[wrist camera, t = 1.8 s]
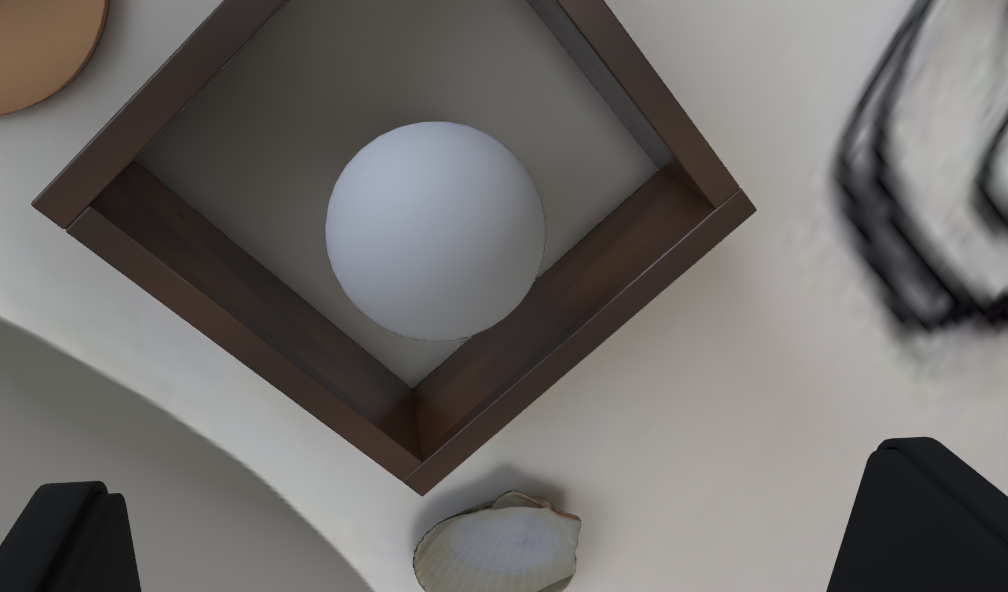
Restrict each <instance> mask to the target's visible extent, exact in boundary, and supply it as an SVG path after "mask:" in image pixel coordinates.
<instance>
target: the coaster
mask: <svg viewBox="0 0 1008 592" xmlns="http://www.w3.org/2000/svg"><path fill="white" fill-rule="evenodd" d="M108 5H109V0H0V115H5V114H9V113H12V112H15V111H19V110H22V109H25V108H28V107H30V106H32V105H35V104H37V103H39V102H41V101H43V100H45V99H47V98H49V97H50V96H52V95H53V94H55V93H56V92H58V91H60V90H61V89H63V88H64V87H65V86H66V85H67V84H68V83H69V82H70V81H71V80H72V79H74V78H75V77H76V76H77V75H78V73H79V72H80V71H81V70H82V68H83V67H84V66H85V64H86V63H87V62H88V61H89V59H90V57H91V55H92V53H93V52H94V50H95V48H96V46H97V44H98V42H99V39H100V36H101V34H102V31H103V28H104V25H105V20H106V15H107V11H108Z"/></svg>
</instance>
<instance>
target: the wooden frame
mask: <svg viewBox="0 0 1008 592" xmlns="http://www.w3.org/2000/svg"><path fill="white" fill-rule="evenodd" d="M288 1H289V0H223V1H222V3H221V4H220V5H219V6H218V7H217V8H216V9H215V10H214V11H213V12H212V13H211V14H210V15H209V16H208V17H207V18H206V19H205V20H204V21H203V23H202V24H201V25H200V26H199V27H198V28H197V29H196V30H195V31H194V32H193V33H192V34H191V35H190V36H189V37H188V38H187V39H186V40H185V41H184V43H183V44H182V45H181V46H180V47H179V48H178V49H177V50H176V51H175V52H174V53H173V54H172V55H171V56H170V57H169V58H168V59H167V60H166V61H165V63H164V64H163V65H162V66H161V67H160V68H159V69H158V70H157V71H156V72H155V73H154V74H153V75H152V76H151V77H150V78H149V79H148V80H147V81H146V83H145V84H144V85H143V86H142V87H141V88H140V89H139V90H138V91H137V92H136V93H135V94H134V95H133V96H132V97H131V98H130V99H129V100H128V101H127V103H126V104H125V105H124V106H123V107H122V108H121V109H120V110H119V111H118V112H117V113H116V114H115V115H114V116H113V117H112V118H111V119H110V120H109V121H108V123H107V124H106V125H105V126H104V127H103V128H102V129H101V130H100V131H99V132H98V133H97V134H96V135H95V136H94V137H93V138H92V139H91V140H90V141H89V143H88V144H87V145H86V146H85V147H84V148H83V149H82V150H81V151H80V152H79V153H78V154H77V155H76V156H75V157H74V158H73V159H72V160H71V161H70V163H69V164H68V165H67V166H66V167H65V168H64V169H63V170H62V171H61V172H60V173H59V174H58V175H57V176H56V177H55V178H54V179H53V180H52V181H51V183H50V184H49V185H48V186H47V187H46V188H45V189H44V190H43V191H42V192H41V193H40V194H39V195H38V196H37V197H36V198H35V199H34V200H33V201H32V203H31V205H32V206H33V207H34V208H35V209H37V210H38V211H39V212H41V213H42V214H43V215H45V216H46V217H48V218H49V219H50V220H52V221H53V222H54V223H56V224H57V225H58V226H60V227H61V228H62V229H66V232H67V233H68V234H70V235H71V236H72V237H74V238H75V239H76V240H78V241H79V242H80V243H82V244H83V245H85V246H86V247H87V248H89V249H90V250H91V251H93V252H94V253H95V254H97V255H98V256H99V257H101V258H102V259H103V260H105V261H106V262H107V263H109V264H110V265H111V266H113V267H114V268H115V269H117V270H118V271H119V272H121V273H122V274H124V275H125V276H126V277H128V278H129V279H130V280H132V281H133V282H134V283H136V284H137V285H138V286H140V287H141V288H142V289H144V290H145V291H146V292H148V293H149V294H150V295H152V296H153V297H154V298H156V299H157V300H159V301H160V302H161V303H163V304H164V305H165V306H167V307H168V308H169V309H171V310H172V311H173V312H175V313H176V314H177V315H179V316H180V317H181V318H183V319H184V320H185V321H187V322H188V323H189V324H191V325H192V326H193V327H195V328H196V329H198V330H199V331H200V332H202V333H203V334H204V335H206V336H207V337H208V338H210V339H211V340H212V341H214V342H215V343H216V344H218V345H219V346H220V347H222V348H223V349H224V350H226V351H227V352H228V353H230V354H231V355H233V356H234V357H235V358H237V359H238V360H239V361H241V362H242V363H243V364H245V365H246V366H247V367H249V368H250V369H251V370H253V371H254V372H255V373H257V374H258V375H259V376H261V377H262V378H263V379H265V380H266V381H267V382H269V383H270V384H272V385H273V386H274V387H276V388H277V389H278V390H280V391H281V392H282V393H284V394H285V395H286V396H288V397H289V398H290V399H292V400H293V401H294V402H296V403H297V404H298V405H300V406H301V407H302V408H304V409H305V410H306V411H308V412H309V413H311V414H312V415H313V416H315V417H316V418H317V419H319V420H320V421H321V422H323V423H324V424H325V425H327V426H328V427H329V428H331V429H332V430H333V431H335V432H336V433H337V434H339V435H340V436H341V437H343V438H344V439H346V440H347V441H348V442H350V443H351V444H352V445H354V446H355V447H356V448H358V449H359V450H360V451H362V452H363V453H364V454H366V455H367V456H368V457H370V458H371V459H372V460H374V461H375V462H376V463H378V464H379V465H380V466H382V467H383V468H385V469H386V470H387V471H389V472H390V473H391V474H393V475H394V476H395V477H397V478H398V479H399V480H401V481H402V482H403V483H405V484H406V485H407V486H409V487H410V488H411V489H413V490H414V491H415V492H417V493H418V494H419V495H421V496H424V495H425V494H426V493H427V492H428V491H430V490H431V489H432V488H433V487H434V486H436V485H437V484H438V483H439V482H440V481H441V480H443V479H444V478H445V477H446V476H447V475H448V474H450V473H451V472H452V471H453V470H454V469H455V468H457V467H458V466H459V465H460V464H461V463H462V462H464V461H465V460H466V459H467V458H468V457H469V456H471V455H472V454H473V453H474V452H475V451H476V450H478V449H479V448H480V447H481V446H482V445H483V444H485V443H486V442H487V441H488V440H489V439H490V438H492V437H493V436H494V435H495V434H496V433H497V432H499V431H500V430H501V429H502V428H503V427H504V426H506V425H507V424H508V423H509V422H510V421H511V420H513V419H514V418H515V417H516V416H517V415H518V414H520V413H521V412H522V411H523V410H524V409H525V408H527V407H528V406H529V405H530V404H531V403H532V402H534V401H535V400H536V399H537V398H538V397H539V396H541V395H542V394H543V393H544V392H545V391H546V390H548V389H549V388H550V387H551V386H552V385H553V384H555V383H556V382H557V381H558V380H559V379H560V378H562V377H563V376H564V375H565V374H566V373H567V372H569V371H570V370H571V369H572V368H573V367H575V366H576V365H577V364H578V363H579V362H580V361H582V360H583V359H584V358H585V357H586V356H587V355H589V354H590V353H591V352H592V351H593V350H594V349H596V348H597V347H598V346H599V345H600V344H601V343H603V342H604V341H605V340H606V339H607V338H608V337H610V336H611V335H612V334H613V333H614V332H615V331H617V330H618V329H619V328H620V327H621V326H622V325H624V324H625V323H626V322H627V321H628V320H629V319H631V318H632V317H633V316H634V315H635V314H636V313H638V312H639V311H640V310H641V309H642V308H643V307H645V306H646V305H647V304H648V303H649V302H650V301H652V300H653V299H654V298H655V297H656V296H657V295H659V294H660V293H661V292H662V291H663V290H664V289H666V288H667V287H668V286H669V285H670V284H671V283H673V282H674V281H675V280H676V279H677V278H678V277H680V276H681V275H682V274H683V273H684V272H685V271H687V270H688V269H689V268H690V267H691V266H692V265H694V264H695V263H696V262H697V261H698V260H699V259H701V258H702V257H703V256H704V255H705V254H706V253H708V252H709V251H710V250H711V249H712V248H714V247H715V246H716V245H717V244H718V243H719V242H721V241H722V240H723V239H724V238H725V237H726V236H728V235H729V234H730V233H731V232H732V231H733V230H735V229H736V228H737V227H738V226H739V225H740V224H742V223H743V222H744V221H745V220H746V219H747V218H749V217H750V216H751V215H752V214H753V213H754V212H756V208H755V206H754V205H753V204H752V202H751V201H750V200H749V198H748V197H747V195H746V194H745V193H744V191H743V190H742V189H741V188H739V185H738V184H737V182H736V181H735V179H734V178H733V177H732V175H731V174H730V173H729V171H728V170H727V168H726V167H725V166H724V164H723V163H722V162H721V160H720V159H719V157H718V156H717V155H716V153H715V152H714V151H713V149H712V148H711V147H710V145H709V144H708V142H707V141H706V140H705V138H704V137H703V136H702V134H701V133H700V131H699V130H698V129H697V127H696V126H695V125H694V123H693V122H692V120H691V119H690V118H689V116H688V115H687V114H686V112H685V111H684V109H683V108H682V107H681V105H680V104H679V103H678V101H677V100H676V99H675V97H674V96H673V94H672V93H671V92H670V90H669V89H668V88H667V86H666V85H665V83H664V82H663V81H662V79H661V78H660V77H659V75H658V74H657V72H656V71H655V70H654V68H653V67H652V66H651V64H650V63H649V61H648V60H647V59H646V57H645V56H644V55H643V53H642V52H641V51H640V49H639V48H638V46H637V45H636V44H635V42H634V41H633V40H632V38H631V37H630V35H629V34H628V33H627V31H626V30H625V29H624V27H623V26H622V24H621V23H620V22H619V20H618V19H617V18H616V16H615V15H614V13H613V12H612V11H611V9H610V8H609V7H608V5H607V4H606V3H605V1H604V0H527V2H528V3H529V4H530V5H531V7H532V8H533V9H534V10H535V12H536V13H537V14H538V16H539V17H540V18H541V19H542V21H543V22H544V23H545V24H546V26H547V27H548V28H549V30H550V31H551V32H552V33H553V35H554V36H555V37H556V38H557V40H558V41H559V42H560V44H561V45H562V46H563V47H564V49H565V50H566V51H567V52H568V54H569V55H570V56H571V58H572V59H573V60H574V61H575V63H576V64H577V65H578V66H579V68H580V69H581V70H582V72H583V73H584V74H585V75H586V77H587V78H588V79H589V80H590V82H591V83H592V84H593V86H594V87H595V88H596V89H597V91H598V92H599V93H600V94H601V96H602V97H603V98H604V100H605V101H606V102H607V103H608V105H609V106H610V107H611V109H612V110H613V111H614V112H615V114H616V115H617V116H618V117H619V119H620V120H621V121H622V123H623V124H624V125H625V126H626V128H627V129H628V130H629V131H630V133H631V134H632V135H633V137H634V138H635V139H636V140H637V142H638V143H639V144H640V145H641V147H642V148H643V149H644V151H645V152H646V153H647V154H648V156H649V157H650V158H651V159H652V161H653V162H654V163H655V165H656V166H657V167H658V168H659V169H660V171H659V172H658V173H657V174H655V175H654V176H653V177H652V178H651V179H650V180H649V181H647V182H646V183H645V184H644V185H643V186H642V187H641V188H640V189H638V190H637V191H636V192H635V193H634V194H633V195H632V196H631V197H629V198H628V199H627V200H626V201H625V202H624V203H623V204H622V205H620V206H619V207H618V208H617V209H616V210H615V211H614V212H613V213H611V214H610V215H609V216H608V217H607V218H606V219H605V220H604V221H602V222H601V223H600V224H599V225H598V226H597V227H596V228H595V229H593V230H592V231H591V232H590V233H589V234H588V235H587V236H586V237H584V238H583V239H582V240H581V241H580V242H579V243H578V244H577V245H575V246H574V247H573V248H572V249H571V250H570V251H569V252H568V253H566V254H565V255H564V256H563V257H562V258H561V259H560V260H559V261H557V262H556V263H555V264H554V265H553V266H552V267H551V268H550V269H548V270H547V271H546V272H545V273H544V274H543V275H542V276H541V277H539V278H538V279H537V280H536V281H535V282H534V283H533V284H532V286H531V288H530V290H529V291H528V293H527V294H526V295H525V297H524V298H523V300H522V301H521V302H520V304H519V305H518V306H517V307H516V308H515V309H514V310H513V311H512V312H511V313H509V314H508V315H507V316H506V317H505V318H504V319H502V320H501V321H499V322H498V323H496V324H495V325H493V326H492V327H490V328H488V329H486V330H484V331H481V332H479V333H477V334H475V335H474V336H473V337H472V338H471V339H470V340H468V341H467V342H466V343H465V344H464V345H463V346H462V347H461V348H459V349H458V350H457V351H456V352H455V353H454V354H453V355H452V356H450V357H449V358H448V359H447V360H446V361H445V362H444V363H443V364H441V365H440V366H439V367H438V368H437V369H436V370H435V371H434V372H432V373H431V374H430V375H429V376H428V377H427V378H426V379H425V380H423V381H422V382H421V383H420V384H419V385H418V386H417V387H416V388H414V389H413V390H412V389H411V388H409V387H408V386H407V385H406V384H405V383H403V382H402V381H401V380H400V379H399V378H397V377H396V376H395V375H394V374H392V373H391V372H390V371H389V370H388V369H386V368H385V367H384V366H383V365H382V364H380V363H379V362H378V361H377V360H376V359H374V358H373V357H372V356H371V355H369V354H368V353H367V352H366V351H365V350H363V349H362V348H361V347H360V346H359V345H357V344H356V343H355V342H354V341H353V340H351V339H350V338H349V337H348V336H347V335H345V334H344V333H343V332H342V331H340V330H339V329H338V328H337V327H336V326H334V325H333V324H332V323H331V322H330V321H328V320H327V319H326V318H325V317H324V316H322V315H321V314H320V313H319V312H317V311H316V310H315V309H314V308H313V307H311V306H310V305H309V304H308V303H307V302H305V301H304V300H303V299H302V298H301V297H299V296H298V295H297V294H296V293H294V292H293V291H292V290H291V289H290V288H288V287H287V286H286V285H285V284H284V283H282V282H281V281H280V280H279V279H278V278H276V277H275V276H274V275H273V274H271V273H270V272H269V271H268V270H267V269H265V268H264V267H263V266H262V265H261V264H259V263H258V262H257V261H256V260H255V259H253V258H252V257H251V256H250V255H248V254H247V253H246V252H245V251H244V250H242V249H241V248H240V247H239V246H238V245H236V244H235V243H234V242H233V241H232V240H230V239H229V238H228V237H227V236H225V235H224V234H223V233H222V232H221V231H219V230H218V229H217V228H216V227H215V226H213V225H212V224H211V223H210V222H209V221H207V220H206V219H205V218H204V217H202V216H201V215H200V214H199V213H198V212H196V211H195V210H194V209H193V208H192V207H190V206H189V205H188V204H187V203H186V202H184V201H183V200H182V199H181V198H179V197H178V196H177V195H176V194H175V193H173V192H172V191H171V190H170V189H169V188H167V187H166V186H165V185H164V184H163V183H161V182H160V181H159V180H158V179H156V178H155V177H154V176H153V175H152V174H150V173H149V172H148V171H147V170H146V169H144V168H143V167H142V166H141V165H140V164H138V163H137V162H136V161H134V160H135V159H136V158H137V157H138V156H139V155H140V154H141V153H142V152H143V151H144V150H145V149H146V148H147V147H148V146H149V145H150V144H151V143H152V142H153V141H154V140H155V139H156V138H157V137H158V136H159V135H160V133H161V132H162V131H163V130H164V129H165V128H166V127H167V126H168V125H169V124H170V123H171V122H172V121H173V120H174V119H175V118H176V117H177V116H178V115H179V114H180V113H181V112H182V111H183V110H184V109H185V108H186V107H187V106H188V105H189V104H190V103H191V101H192V100H193V99H194V98H195V97H196V96H197V95H198V94H199V93H200V92H201V91H202V90H203V89H204V88H205V87H206V86H207V85H208V84H209V83H210V82H211V81H212V80H213V79H214V78H215V77H216V76H217V75H218V74H219V73H220V72H221V71H222V69H223V68H224V67H225V66H226V65H227V64H228V63H229V62H230V61H231V60H232V59H233V58H234V57H235V56H236V55H237V54H238V53H239V52H240V51H241V50H242V49H243V48H244V47H245V46H246V45H247V44H248V43H249V42H250V41H251V40H252V39H253V37H254V36H255V35H256V34H257V33H258V32H259V31H260V30H261V29H262V28H263V27H264V26H265V25H266V24H267V23H268V22H269V21H270V20H271V19H272V18H273V17H274V16H275V15H276V14H277V13H278V12H279V11H280V10H281V9H282V8H283V6H284V5H285V4H286V3H287V2H288Z"/></svg>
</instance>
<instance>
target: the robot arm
mask: <svg viewBox="0 0 1008 592" xmlns="http://www.w3.org/2000/svg"><path fill="white" fill-rule="evenodd" d="M0 592H141V587H140V581H139V575H138V570H137V564H136V559H135V554H134V547H133V542H132V536H131V530H130V525H129V520H128V513H127V508H126V503H125V499H124V497H123V495H122V494H120V493H114V494H108V491H107V488H106V486H105V484H104V483H103V482H101V481H88V482H69V483H50V484H44V485H42V486H40V487H39V488H38V490H37V491H36V492H35V493H34V495H33V496H32V498H31V499H30V501H29V503H28V504H27V506H26V507H25V509H24V510H23V512H22V513H21V515H20V516H19V518H18V519H17V521H16V522H15V524H14V525H13V527H12V529H11V530H10V532H9V533H8V535H7V536H6V538H5V540H4V541H3V542H2V544H1V546H0ZM826 592H1008V497H1007V496H1006V495H1005V494H1004V493H1002V492H1001V491H1000V490H999V489H997V488H996V487H995V486H994V485H992V484H991V483H990V482H989V481H987V480H986V479H985V478H984V477H982V476H981V475H980V474H979V473H977V472H976V471H975V470H974V469H973V468H971V467H970V466H969V465H968V464H966V463H965V462H964V461H963V460H961V459H960V458H959V457H958V456H956V455H955V454H954V453H953V452H951V451H950V450H949V449H948V448H946V447H945V446H944V445H943V444H941V443H940V442H938V441H937V440H935V439H933V438H929V437H911V438H892V439H887V440H884V441H883V442H882V443H881V444H880V445H879V446H878V448H877V450H876V451H874V452H873V453H872V454H871V455H870V456H869V458H868V460H867V464H866V467H865V470H864V473H863V476H862V480H861V483H860V486H859V489H858V492H857V495H856V499H855V502H854V505H853V508H852V511H851V515H850V518H849V521H848V524H847V527H846V531H845V534H844V537H843V540H842V543H841V547H840V550H839V553H838V556H837V559H836V562H835V566H834V569H833V572H832V575H831V578H830V582H829V585H828V588H827V591H826Z"/></svg>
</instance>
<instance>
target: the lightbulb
mask: <svg viewBox="0 0 1008 592" xmlns="http://www.w3.org/2000/svg"><path fill="white" fill-rule="evenodd" d="M545 233H546V226H545V219H544V213H543V207H542V201H541V198H540V196H539V193H538V190H537V188H536V185H535V182H534V181H533V179H532V178H531V176H530V175H529V173H528V171H527V170H526V168H525V167H524V165H523V164H522V163H521V162H520V161H519V160H518V159H517V158H516V157H515V156H514V155H513V154H512V152H511V151H510V150H509V149H508V148H507V147H506V146H505V145H503V144H502V143H500V142H499V141H497V140H496V139H494V138H493V137H491V136H490V135H488V134H486V133H484V132H482V131H479V130H477V129H474V128H472V127H469V126H467V125H461V124H456V123H451V122H446V121H444V122H420V123H415V124H410V125H406V126H401V127H399V128H396V129H394V130H392V131H390V132H387V133H385V134H383V135H380V136H379V137H378V138H376V139H375V140H373V141H372V142H370V143H369V144H368V145H366V146H365V147H363V148H362V149H361V150H360V151H359V152H358V153H357V154H356V155H355V156H354V158H353V159H352V160H351V161H350V162H349V163H348V164H347V165H346V167H345V169H344V170H343V172H342V173H341V175H340V177H339V178H338V180H337V182H336V184H335V186H334V189H333V192H332V195H331V198H330V200H329V204H328V212H327V219H326V227H325V234H326V246H327V253H328V256H329V259H330V262H331V266H332V269H333V272H334V274H335V275H336V277H337V279H338V281H339V283H340V285H341V286H342V288H343V290H344V292H345V294H346V295H347V296H348V297H349V299H350V300H351V301H352V302H353V303H354V304H355V306H356V307H357V308H358V309H359V310H360V311H361V312H363V313H364V314H365V315H366V316H368V317H369V318H370V319H371V320H373V321H374V322H375V323H377V324H378V325H380V326H382V327H384V328H386V329H388V330H390V331H392V332H393V333H395V334H398V335H401V336H405V337H408V338H412V339H415V340H424V341H433V342H435V341H450V340H456V339H461V338H465V337H469V336H472V335H475V334H477V333H479V332H481V331H484V330H486V329H488V328H490V327H492V326H493V325H495V324H496V323H498V322H499V321H501V320H502V319H504V318H505V317H506V316H507V315H508V314H509V313H511V312H512V311H513V310H514V309H515V308H516V307H517V306H518V305H519V304H520V302H521V301H522V300H523V298H524V297H525V295H526V294H527V293H528V291H529V290H530V288H531V286H532V284H533V282H534V280H535V278H536V275H537V273H538V271H539V268H540V265H541V261H542V257H543V253H544V249H545Z"/></svg>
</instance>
